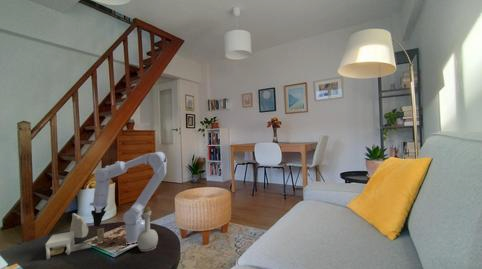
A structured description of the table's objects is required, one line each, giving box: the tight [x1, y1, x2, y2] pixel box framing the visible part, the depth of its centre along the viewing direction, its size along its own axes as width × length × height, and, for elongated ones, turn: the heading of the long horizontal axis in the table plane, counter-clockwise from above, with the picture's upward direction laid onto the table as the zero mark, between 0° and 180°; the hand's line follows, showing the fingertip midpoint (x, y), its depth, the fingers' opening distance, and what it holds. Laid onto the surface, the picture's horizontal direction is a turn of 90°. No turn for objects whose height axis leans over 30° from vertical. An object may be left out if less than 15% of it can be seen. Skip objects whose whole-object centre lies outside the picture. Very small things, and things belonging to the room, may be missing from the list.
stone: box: [69, 212, 89, 239], centre depth 116 cm, size 10×5×12 cm, turn 65°
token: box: [50, 247, 65, 257], centre depth 99 cm, size 5×5×1 cm
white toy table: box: [45, 231, 75, 260], centre depth 100 cm, size 8×10×6 cm
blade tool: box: [65, 227, 105, 254], centre depth 104 cm, size 14×5×6 cm, turn 118°
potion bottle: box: [136, 206, 159, 253], centre depth 101 cm, size 9×9×18 cm
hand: (97, 222), depth 106 cm, fingers open, 7 cm apart
